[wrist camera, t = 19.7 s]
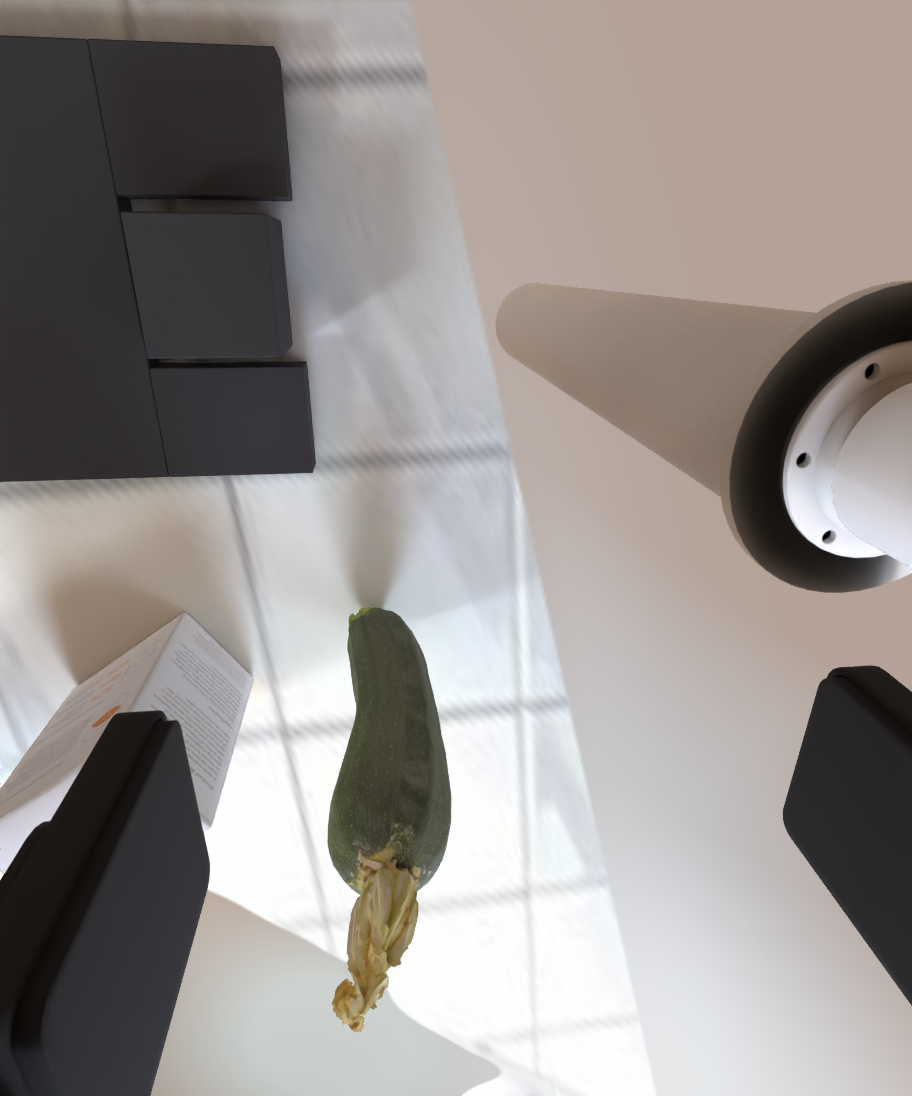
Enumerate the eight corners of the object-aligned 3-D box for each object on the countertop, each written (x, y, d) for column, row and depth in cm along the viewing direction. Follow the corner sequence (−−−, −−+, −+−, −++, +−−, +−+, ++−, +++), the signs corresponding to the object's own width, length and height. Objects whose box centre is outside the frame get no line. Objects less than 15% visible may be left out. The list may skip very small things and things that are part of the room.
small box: (148, 749, 36) (67, 922, 27) (71, 685, 34) (-48, 849, 24) (259, 677, 35) (215, 830, 26) (187, 606, 33) (109, 745, 23)
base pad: (280, 58, 24) (274, 46, 23) (315, 463, 31) (313, 473, 29) (-244, 38, 22) (-284, 23, 21) (-88, 475, 29) (-111, 485, 27)
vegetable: (416, 578, 34) (462, 940, 16) (433, 644, 36) (494, 1038, 17) (334, 597, 34) (287, 984, 16) (356, 663, 36) (337, 1078, 17)
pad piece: (280, 220, 26) (265, 213, 23) (292, 346, 28) (280, 357, 25) (155, 218, 26) (119, 211, 22) (176, 346, 28) (147, 358, 24)
